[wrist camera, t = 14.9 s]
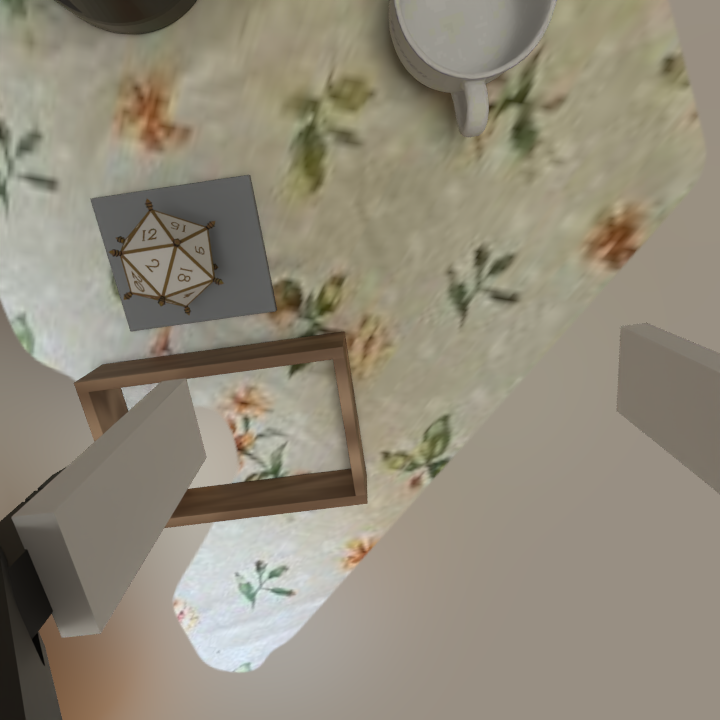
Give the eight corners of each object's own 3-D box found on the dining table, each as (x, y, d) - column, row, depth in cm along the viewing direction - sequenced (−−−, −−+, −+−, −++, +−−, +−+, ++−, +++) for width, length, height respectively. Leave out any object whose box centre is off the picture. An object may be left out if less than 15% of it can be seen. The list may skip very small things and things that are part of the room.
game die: (212, 268, 47) (203, 350, 41) (117, 241, 43) (92, 327, 37) (239, 198, 41) (233, 284, 35) (131, 159, 37) (105, 248, 31)
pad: (94, 198, 42) (90, 198, 41) (250, 175, 41) (248, 174, 41) (133, 329, 46) (130, 331, 45) (276, 309, 45) (275, 311, 44)
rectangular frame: (102, 364, 47) (73, 383, 42) (344, 331, 46) (342, 346, 41) (148, 502, 52) (127, 532, 47) (366, 475, 51) (367, 503, 46)
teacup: (393, -63, 36) (402, -134, 28) (534, -49, 36) (580, -114, 29) (376, 138, 40) (380, 123, 33) (502, 149, 41) (535, 138, 33)
